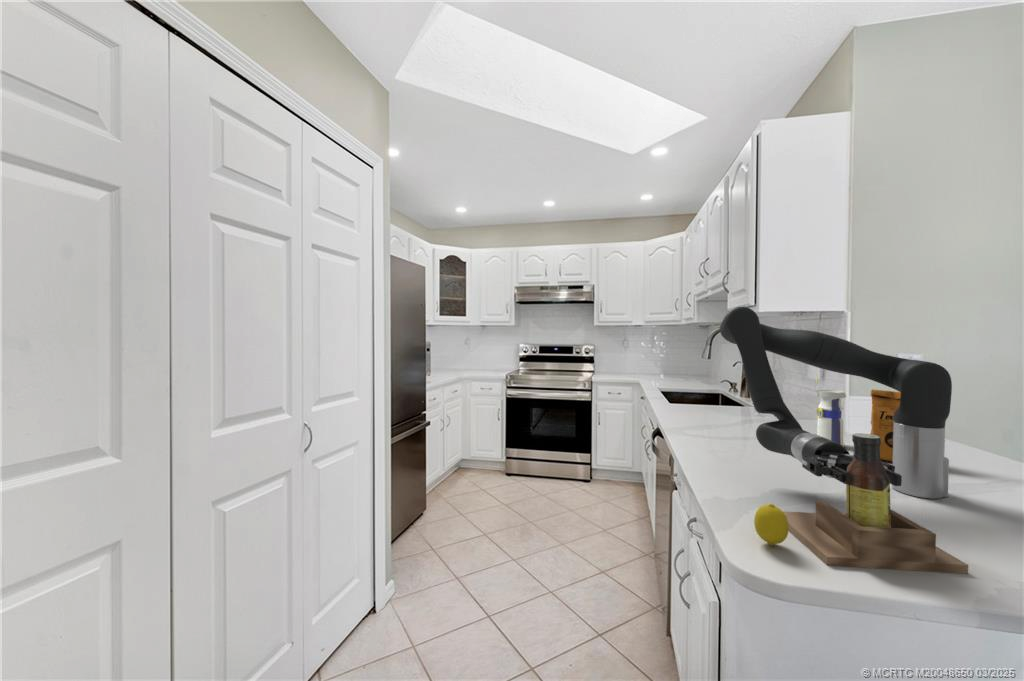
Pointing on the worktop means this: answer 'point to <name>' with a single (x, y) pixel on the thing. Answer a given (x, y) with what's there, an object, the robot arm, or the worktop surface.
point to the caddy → (870, 542)
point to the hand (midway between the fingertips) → (873, 480)
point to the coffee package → (884, 419)
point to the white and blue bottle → (830, 415)
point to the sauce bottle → (868, 484)
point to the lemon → (771, 524)
